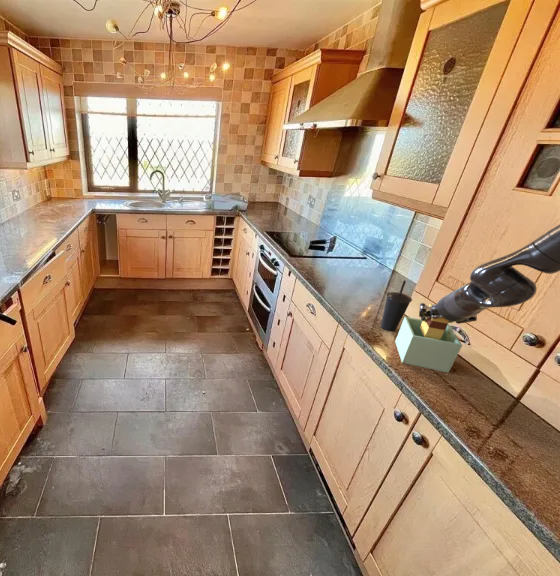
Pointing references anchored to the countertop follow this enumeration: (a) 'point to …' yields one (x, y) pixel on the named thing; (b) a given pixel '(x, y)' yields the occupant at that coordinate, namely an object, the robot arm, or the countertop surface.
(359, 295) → the countertop surface
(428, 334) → the yellow brown striped block
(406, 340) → the storage box
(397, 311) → the drinking cup
